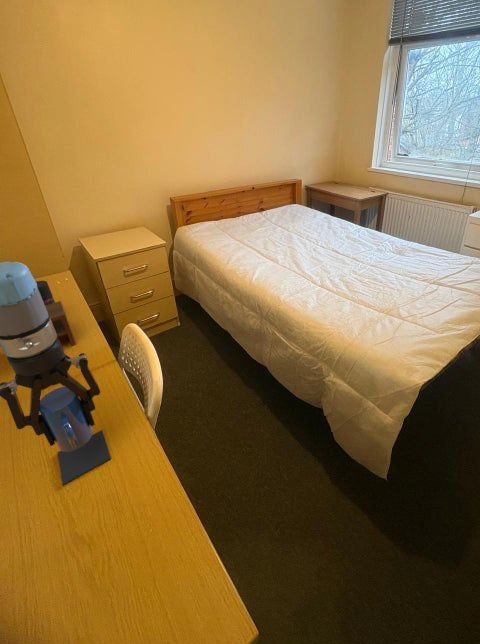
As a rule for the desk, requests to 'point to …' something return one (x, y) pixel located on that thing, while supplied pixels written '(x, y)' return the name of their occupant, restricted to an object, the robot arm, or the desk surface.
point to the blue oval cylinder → (65, 419)
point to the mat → (83, 458)
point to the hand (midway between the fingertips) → (72, 430)
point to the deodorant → (45, 292)
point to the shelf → (60, 320)
